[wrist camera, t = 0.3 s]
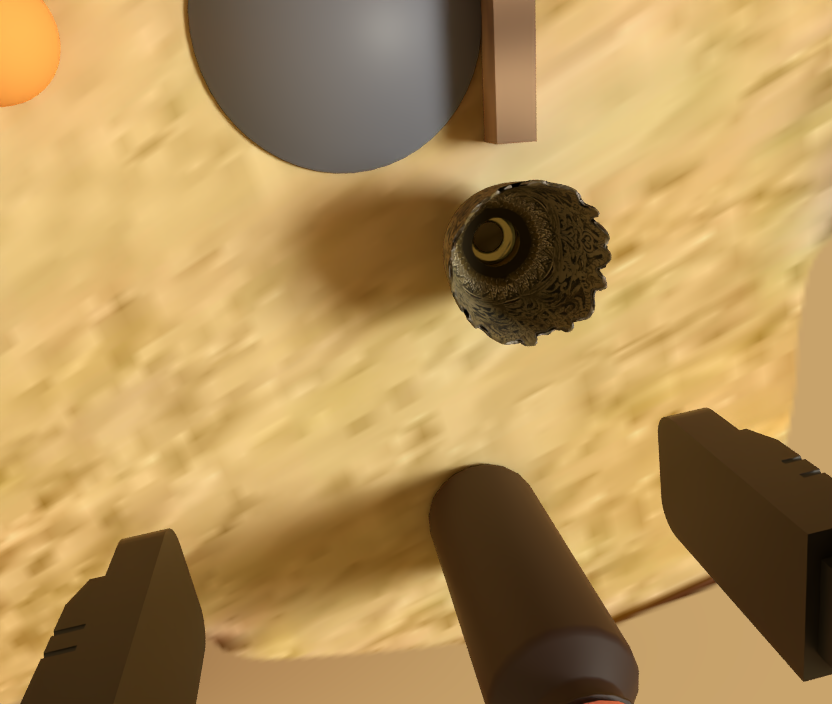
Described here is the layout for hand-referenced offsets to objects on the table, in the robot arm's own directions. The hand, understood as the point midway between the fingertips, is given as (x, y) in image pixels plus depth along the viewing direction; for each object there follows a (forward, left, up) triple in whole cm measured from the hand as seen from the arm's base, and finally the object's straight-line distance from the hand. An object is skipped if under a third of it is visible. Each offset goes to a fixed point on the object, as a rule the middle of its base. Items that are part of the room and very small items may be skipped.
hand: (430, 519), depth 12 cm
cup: (+1, +8, -28) cm, 29 cm away
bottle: (+18, +7, -28) cm, 34 cm away
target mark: (-10, +1, -28) cm, 30 cm away
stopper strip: (-10, +9, -28) cm, 31 cm away
